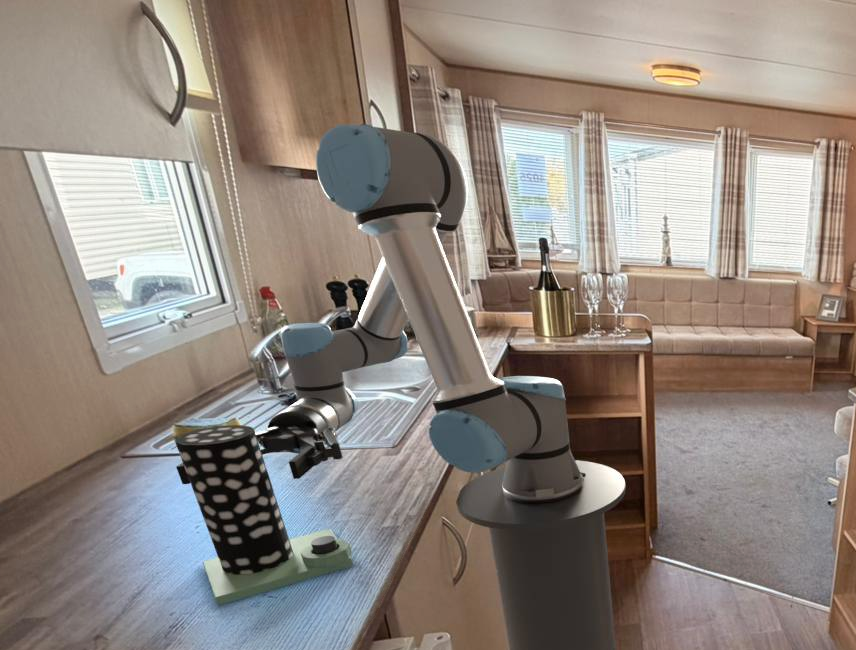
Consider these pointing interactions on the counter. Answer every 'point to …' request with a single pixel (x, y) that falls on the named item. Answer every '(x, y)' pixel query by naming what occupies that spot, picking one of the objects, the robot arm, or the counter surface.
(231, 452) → the white-spotted black cylinder
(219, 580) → the scale
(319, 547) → the button
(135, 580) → the counter surface
